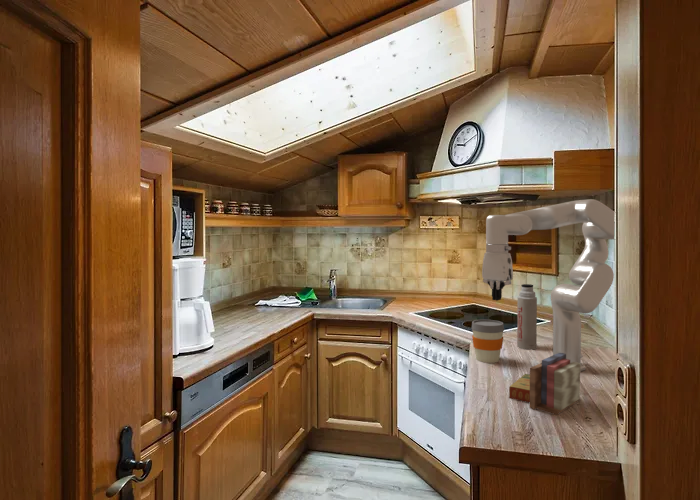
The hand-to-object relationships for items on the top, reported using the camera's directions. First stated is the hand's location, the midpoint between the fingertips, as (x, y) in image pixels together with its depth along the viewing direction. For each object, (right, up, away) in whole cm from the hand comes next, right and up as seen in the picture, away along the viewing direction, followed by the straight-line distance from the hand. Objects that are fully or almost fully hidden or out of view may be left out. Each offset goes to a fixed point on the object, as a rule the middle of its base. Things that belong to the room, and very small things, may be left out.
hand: (496, 299), depth 161 cm
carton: (+5, -29, -18) cm, 34 cm away
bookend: (+9, -28, -27) cm, 40 cm away
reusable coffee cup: (+3, -26, +19) cm, 33 cm away
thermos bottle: (+25, -25, +36) cm, 51 cm away
